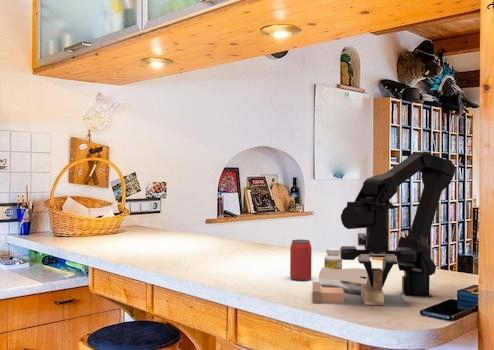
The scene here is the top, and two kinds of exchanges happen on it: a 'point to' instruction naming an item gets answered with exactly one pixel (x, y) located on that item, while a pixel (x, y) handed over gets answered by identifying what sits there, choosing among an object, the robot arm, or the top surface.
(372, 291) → the two-tone stepped block
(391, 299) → the slate board
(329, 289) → the tile
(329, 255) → the supplement bottle
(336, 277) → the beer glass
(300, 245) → the beer can
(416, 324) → the top surface
